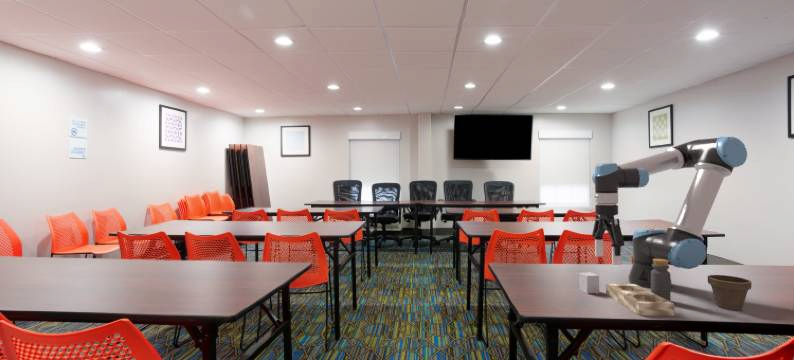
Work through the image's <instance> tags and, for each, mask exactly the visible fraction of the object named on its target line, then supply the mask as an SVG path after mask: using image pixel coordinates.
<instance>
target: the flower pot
mask: <svg viewBox="0 0 794 360" xmlns="http://www.w3.org/2000/svg"><path fill="white" fill-rule="evenodd" d="M707 283H708V284H709V285H710V287H711V290H712V294H713V297H714V300H715V304H716V306H717V307H719V308H722V309H724V310H730V311H742V310H743V307H744V304H745V302H746V298H747V294H748V291H749V290H752V281H751V280H750V279H746V278H743V277H738V276H733V275H724V274H723V275H722V274H710V275H707Z"/></svg>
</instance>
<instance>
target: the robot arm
mask: <svg viewBox="0 0 794 360" xmlns="http://www.w3.org/2000/svg"><path fill="white" fill-rule="evenodd" d="M747 159H748V151H747V148H746V145H745V143H744V142H743V141H742V140H741V139H739V138H738V137H735V136H720V137H714V138H712V137H711V138H703V139H696V140H691V141H687V142H684V143H681V144H678V145H675V146H673V147H672V146H671V147H669V148H666V150H665V151H664V152H660V153H657V154H653V155H649V156H646V157H642V158H639V159H636V160H632V161H629V162H625V163H622V164H617V163H613V162H612V163H611V162H610V163H609V162H607V163H597V164H596V165H595V167H594V172H593V173H592V175H591V176H592V177H591V178H592V179H591V180H592V182H593V184H594V187H595V188H594V190H595V195H594V196H593V197H594V198H595V200H594V201H595V207H594V209H595V212H594V213H595V220H594V225H593V229H592V235H591V236H592V238H593V239H594V247H595V248H594V251H595V253H594V256H595V257H604V235H605V232H608V235H609V238H610V240H611V243H612V244H611V265H613V266H617V265H619V266H621V265H622V254H621V253H622V252H621V251H622V250H621V249H622V247H624V246H625V240H624V237H623V233H622V228H621V224H620V219H619V218H615V216H617V215H619V205H618V204H619V189H632V188H633V189H635V188H636V189H638V188H644V187H646V186H647V185H648V184H649V181H650V176H651V175H654V174H658V173H662V172H666V171H669V170H674V171H676V170H680V169H690V168H694V169H695V170H696V173H695V175H694V177H693V179H692V182H691V185H690V187H689V189H688V191H687V193H686V196H685V199H684V201H683V203H682V205H681V208H680V210H679V213H678V214H677V217H676V219H675V222H674V224H673V225H671V226H668V227H667V229H661V228H660V229H655V228H654V229H651V228H649V229H636V230H634V231H633V234H632V235H633V237H632V258H633V260H632V262H633V263H632V266H631V269H630V271H629V274H628V282H629V284H636V285H638V286H640V287H642V288H648V289H649V288H650V289H651V271H652V270H654V267H652V264H654V263H653V259H665V260H668V265H669V266H673V267H675V268H678V269H685V270H689V269H690V270H691V269H694V268H697V267H699V266H701V265H702V264H703V262H704V261H705V259H707V258H706V257H707V253H708V252H707V248H706V247H707V246H706V245H705V244H704V240H705V239H704V237H703V235H702V231H703V229H704V227H705V224H706V221H707V219H708V217H709V215H710V212H711V210H712V208H713V205H714V202H715V200H716V198H717V196H718V193H719V190H720V188H721V186H722V184H723V182H724V179H725V178H727V177H729V176H731V174H732V172H733V171H734V169H735V168H738V167H741V166H742V165H744V164H745V163H746V161H747ZM667 271H668V269H667ZM668 272H669V271H668ZM672 287H673V286H672V277H670V288H672Z"/></svg>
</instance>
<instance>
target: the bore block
mask: <svg viewBox="0 0 794 360" xmlns="http://www.w3.org/2000/svg"><path fill="white" fill-rule="evenodd" d="M605 295H606V296H608V297H610V298H612V299H613V300H615V301H616V302H617V303H619V304H621V305H623V306H624V307H626V308H627V309H629V310H630V311H631V312H633V313H635V314H636V315H638V316H658V317H659V316H667V317H668V316H670V317H672V316H673V317H674V316H675V303H674V302H672V301H671V300H670V301H668V300H666V299H664V298H662V297H660V296H658V295H656V294H654V293H652V292H651V290H648V289H646V288H645V287H643V286H638V285H636V284H632V283H606V284H605Z"/></svg>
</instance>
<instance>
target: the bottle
mask: <svg viewBox="0 0 794 360" xmlns="http://www.w3.org/2000/svg"><path fill="white" fill-rule="evenodd" d="M653 263H654V264H652V267H654V270H652V271H651V288H650V292H652V293H654V294H656V295H658V296H660V297H662V298H664V299H666V300H668V301H670V302H671V287H670V278H671V272H669V271H667V270H668V269H670V265H669V264H668V260H665V259H653Z"/></svg>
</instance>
